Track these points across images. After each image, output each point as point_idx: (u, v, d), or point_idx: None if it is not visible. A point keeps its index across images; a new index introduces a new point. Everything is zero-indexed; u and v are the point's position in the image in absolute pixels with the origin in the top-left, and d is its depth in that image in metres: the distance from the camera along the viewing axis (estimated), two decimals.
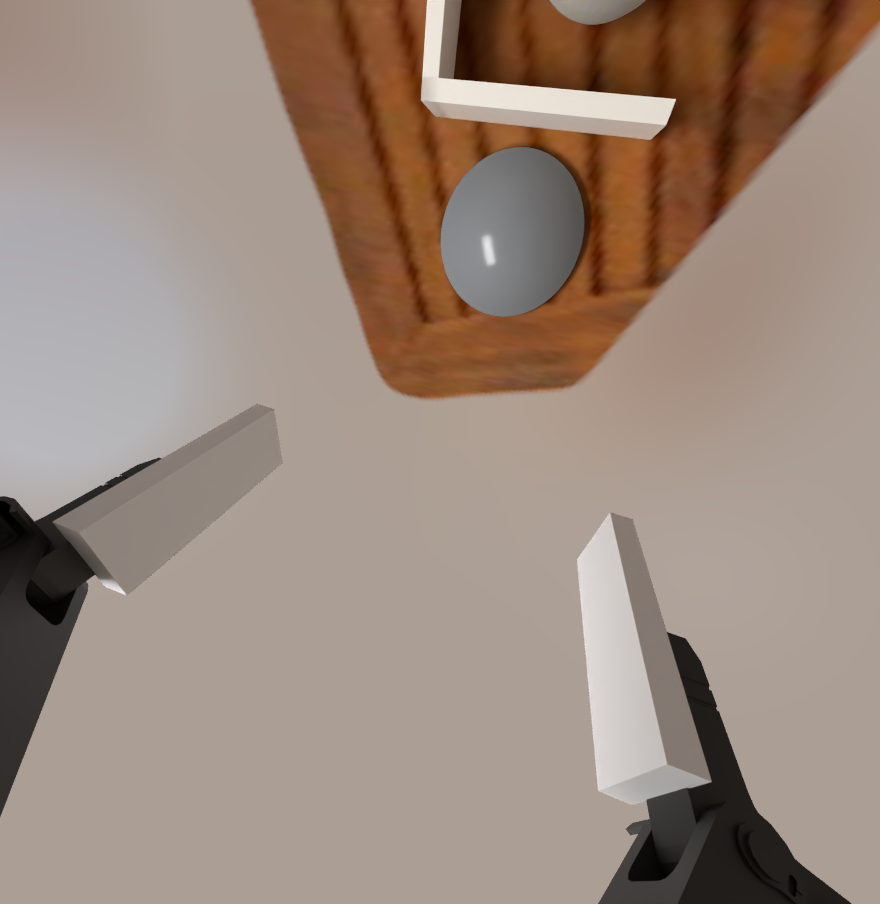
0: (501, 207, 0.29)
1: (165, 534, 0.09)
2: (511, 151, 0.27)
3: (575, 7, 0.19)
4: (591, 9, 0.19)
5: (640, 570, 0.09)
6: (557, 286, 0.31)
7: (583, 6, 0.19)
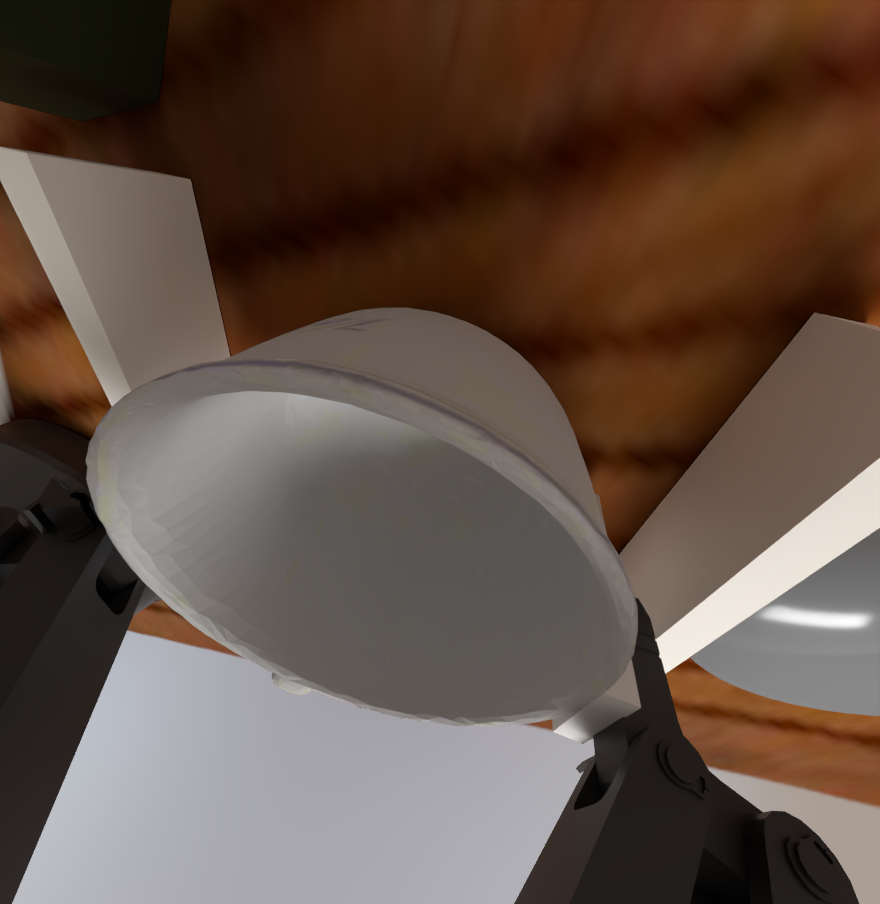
0: (786, 623, 0.13)
1: None
2: None
3: None
4: None
5: None
6: None
7: None
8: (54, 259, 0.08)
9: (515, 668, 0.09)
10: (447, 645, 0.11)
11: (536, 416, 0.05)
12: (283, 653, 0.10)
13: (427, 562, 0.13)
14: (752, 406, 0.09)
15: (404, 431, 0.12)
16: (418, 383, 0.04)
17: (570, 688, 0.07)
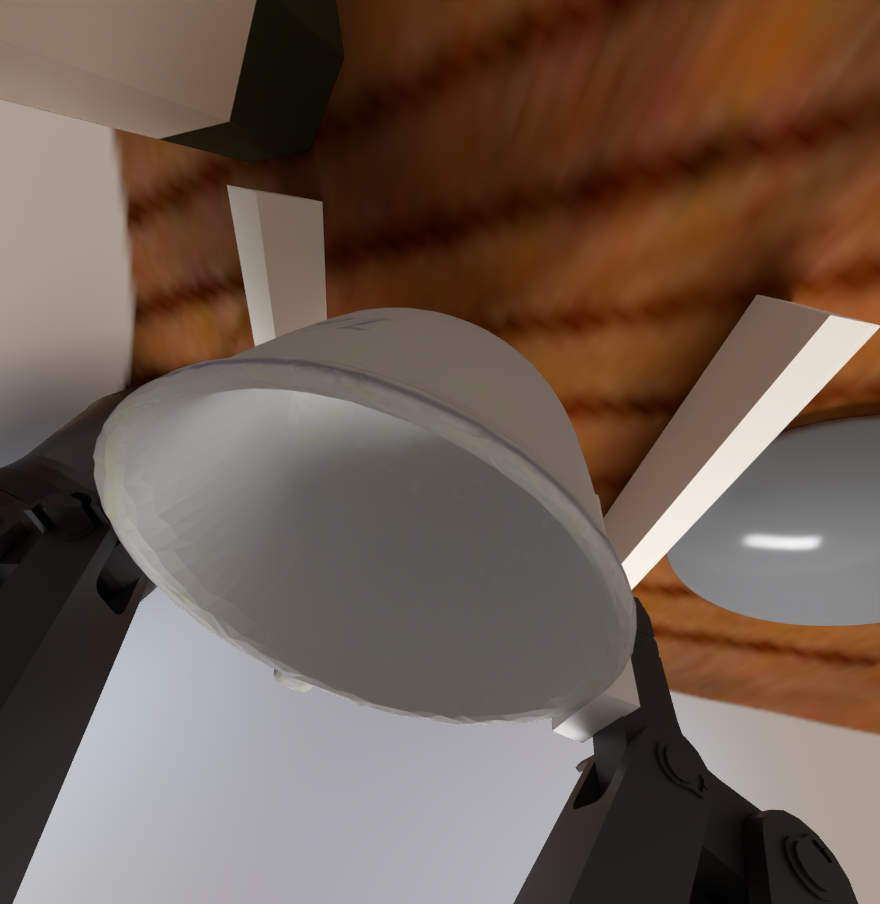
0: (753, 541, 0.16)
1: None
2: None
3: None
4: None
5: None
6: None
7: None
8: (251, 256, 0.13)
9: (515, 667, 0.09)
10: (448, 644, 0.11)
11: (536, 415, 0.05)
12: (285, 650, 0.10)
13: (428, 561, 0.13)
14: (717, 361, 0.13)
15: (406, 430, 0.12)
16: (419, 381, 0.04)
17: (569, 687, 0.07)
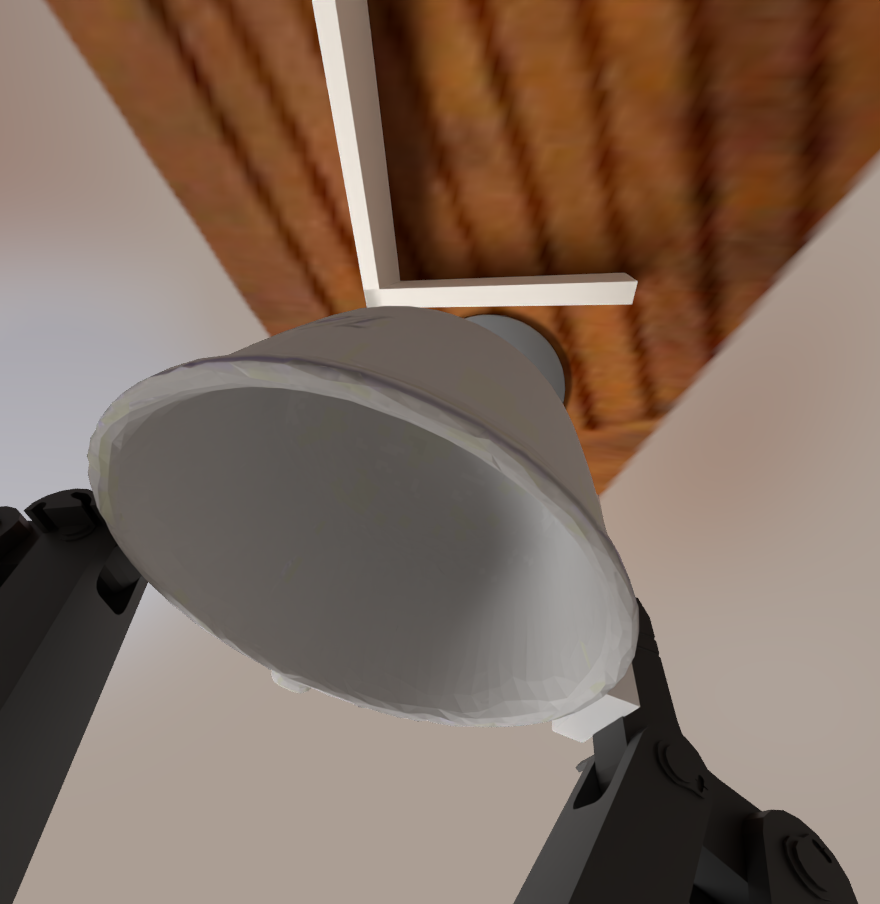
0: None
1: None
2: (470, 320, 0.25)
3: None
4: None
5: None
6: None
7: None
8: None
9: (515, 669, 0.09)
10: (447, 645, 0.11)
11: (537, 415, 0.05)
12: (283, 651, 0.10)
13: (428, 562, 0.13)
14: (585, 274, 0.22)
15: (406, 430, 0.12)
16: (418, 380, 0.04)
17: (570, 690, 0.07)
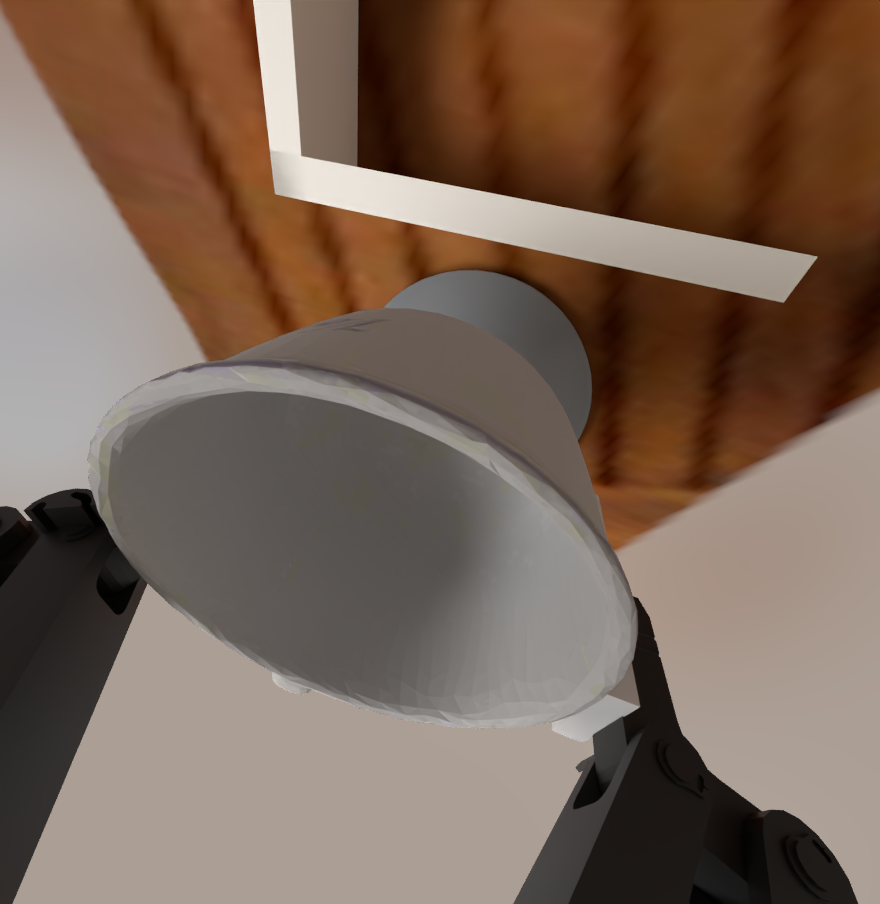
0: None
1: None
2: (466, 276, 0.15)
3: None
4: None
5: None
6: None
7: None
8: None
9: (515, 670, 0.09)
10: (447, 646, 0.11)
11: (536, 417, 0.05)
12: (283, 653, 0.10)
13: (428, 563, 0.13)
14: None
15: (405, 432, 0.12)
16: (416, 384, 0.04)
17: (569, 691, 0.07)
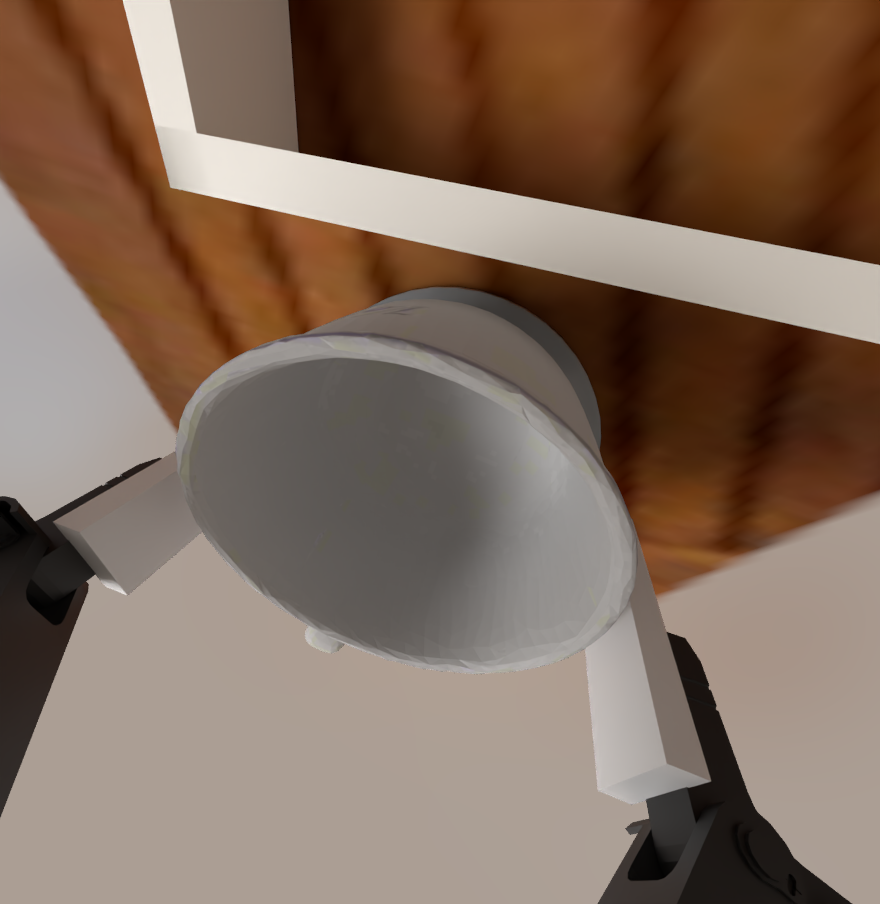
0: None
1: (165, 534, 0.09)
2: (440, 295, 0.11)
3: None
4: None
5: (640, 570, 0.09)
6: None
7: None
8: None
9: (529, 622, 0.10)
10: (465, 608, 0.12)
11: (553, 386, 0.06)
12: (319, 610, 0.11)
13: (444, 538, 0.14)
14: None
15: (425, 415, 0.13)
16: (462, 352, 0.05)
17: (579, 629, 0.08)
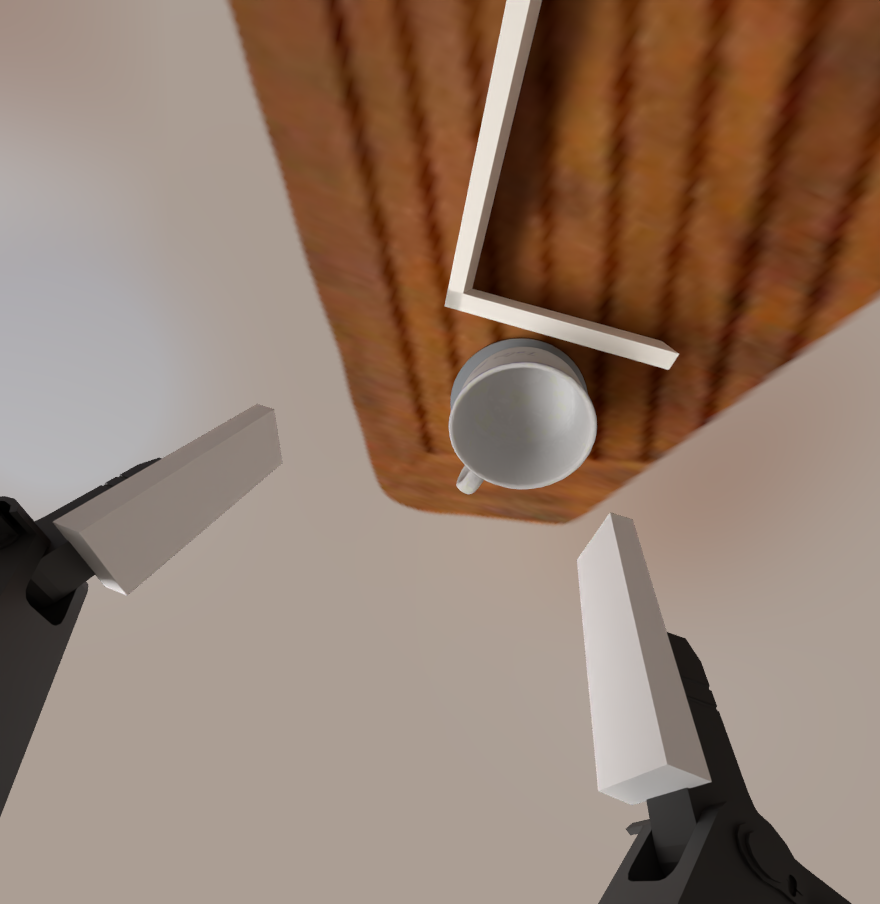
0: None
1: (165, 534, 0.09)
2: (525, 342, 0.28)
3: None
4: None
5: (640, 570, 0.09)
6: None
7: None
8: None
9: (560, 466, 0.26)
10: (531, 470, 0.28)
11: (575, 377, 0.23)
12: (475, 466, 0.27)
13: (515, 451, 0.31)
14: (632, 333, 0.26)
15: (512, 392, 0.30)
16: (555, 367, 0.22)
17: (579, 457, 0.25)
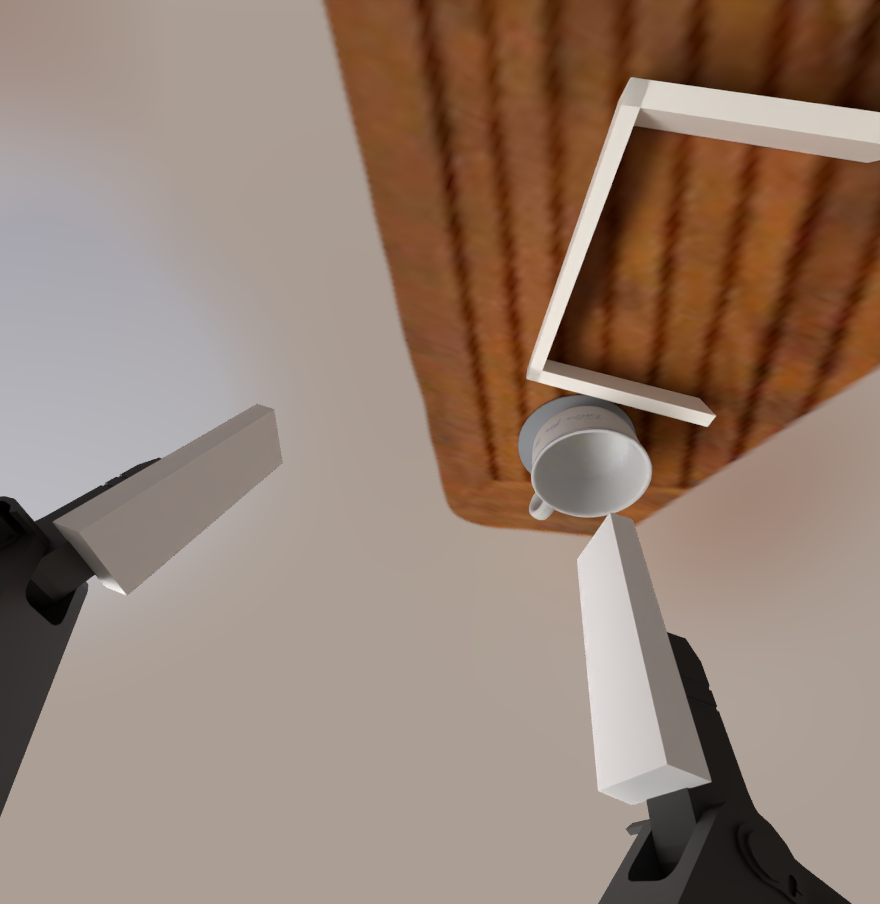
0: None
1: (165, 534, 0.09)
2: (585, 398, 0.35)
3: None
4: None
5: (640, 570, 0.09)
6: None
7: None
8: None
9: (618, 499, 0.33)
10: (593, 501, 0.35)
11: (633, 435, 0.30)
12: (549, 499, 0.34)
13: (575, 482, 0.38)
14: (675, 393, 0.32)
15: (573, 436, 0.37)
16: (620, 431, 0.29)
17: (636, 494, 0.31)
